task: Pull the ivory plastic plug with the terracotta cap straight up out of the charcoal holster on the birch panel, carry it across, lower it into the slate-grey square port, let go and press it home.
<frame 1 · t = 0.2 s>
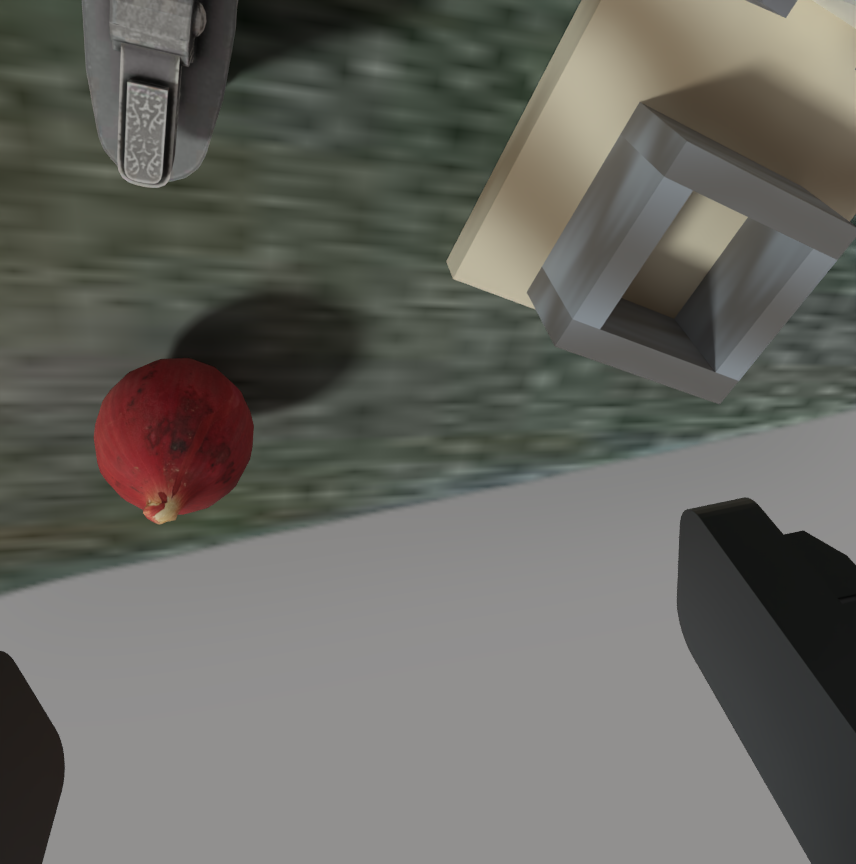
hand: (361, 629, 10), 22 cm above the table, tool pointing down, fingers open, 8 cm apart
panel: (732, 93, 29), on the table
onion: (184, 377, 33), on the table
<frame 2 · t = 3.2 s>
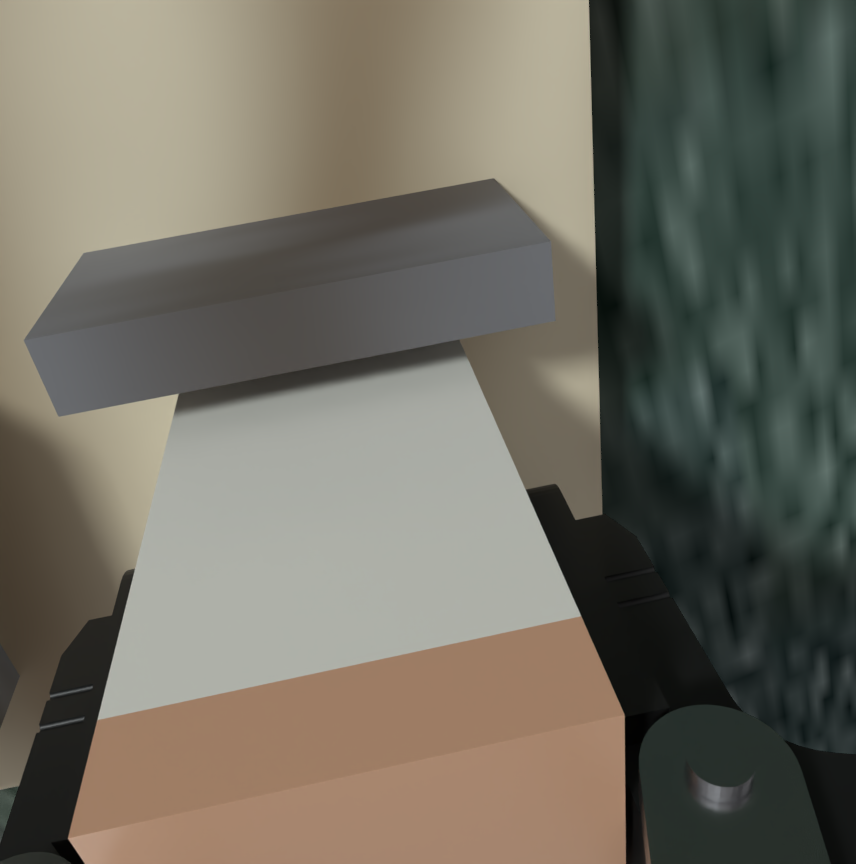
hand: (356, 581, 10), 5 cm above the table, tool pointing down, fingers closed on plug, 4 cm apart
panel: (40, 448, 14), on the table
plug: (342, 432, 13), point 2 cm above the table, touching gripper, panel
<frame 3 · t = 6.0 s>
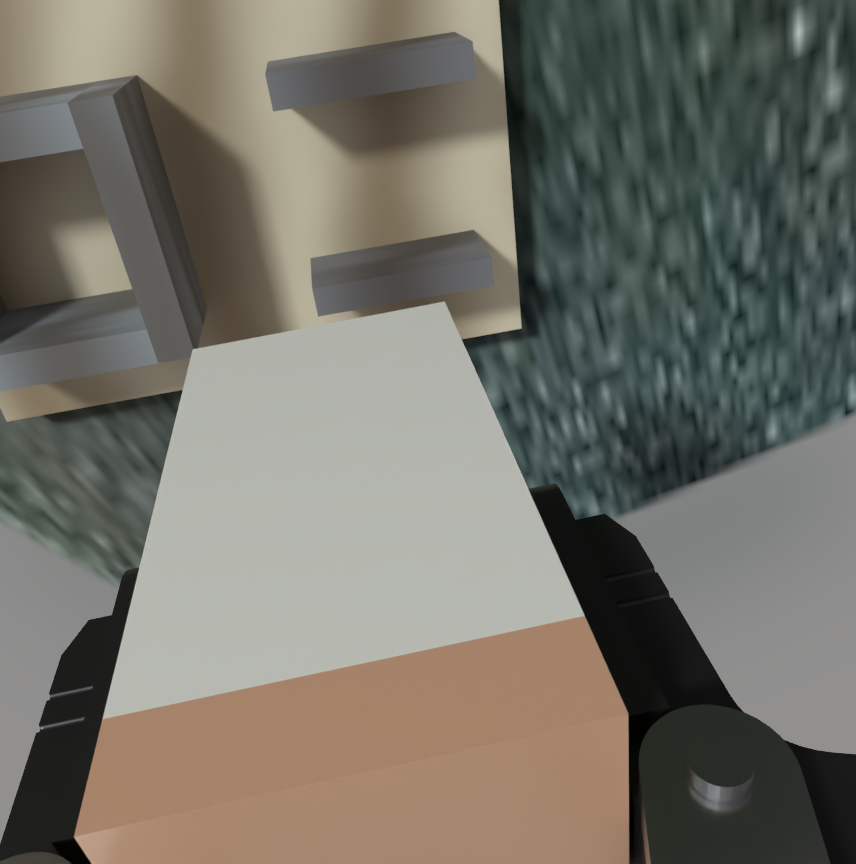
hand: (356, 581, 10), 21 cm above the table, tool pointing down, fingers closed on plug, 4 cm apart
panel: (223, 182, 28), on the table
plug: (344, 432, 13), point 18 cm above the table, touching gripper
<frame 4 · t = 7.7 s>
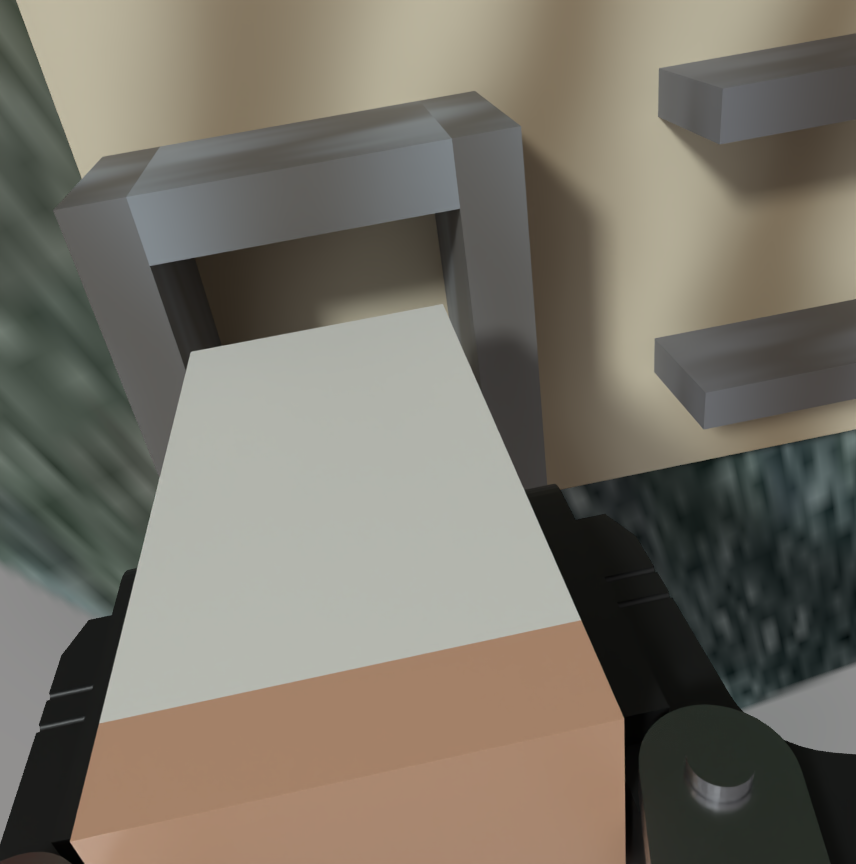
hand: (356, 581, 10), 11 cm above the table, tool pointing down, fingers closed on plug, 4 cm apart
panel: (539, 235, 20), on the table
plug: (342, 434, 13), point 8 cm above the table, touching gripper
when the fingers open (7 cm above the table, at t = 9.1 s): plug drops 2 cm, resting on panel.
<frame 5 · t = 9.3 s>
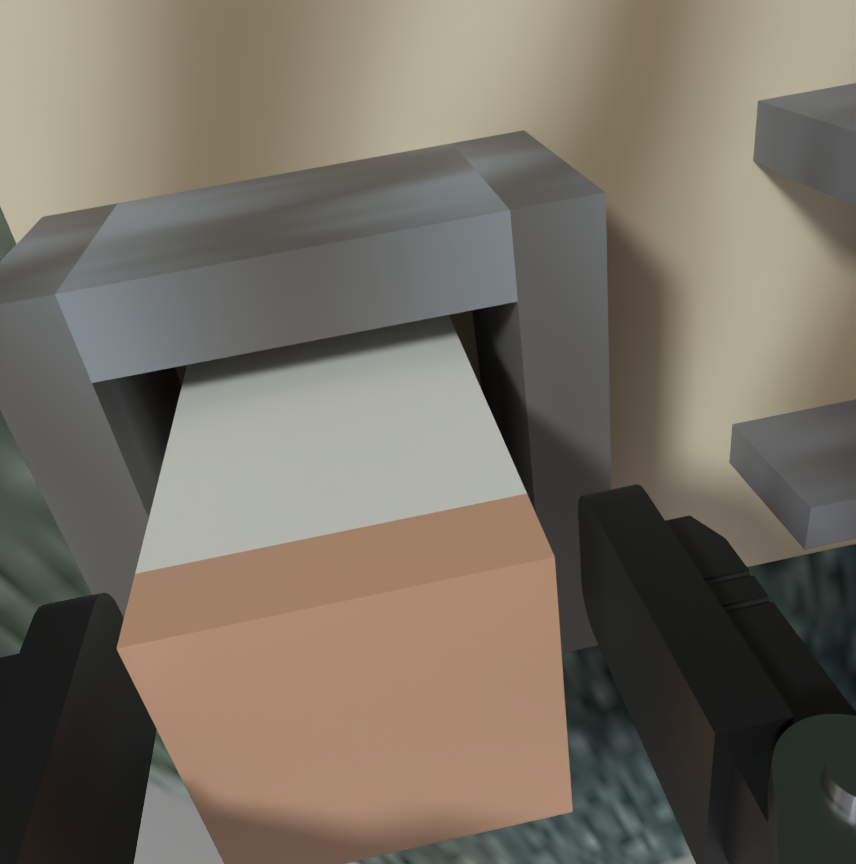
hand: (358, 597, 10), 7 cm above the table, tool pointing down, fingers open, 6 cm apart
panel: (592, 300, 16), on the table
plug: (337, 384, 15), point 1 cm above the table, touching panel
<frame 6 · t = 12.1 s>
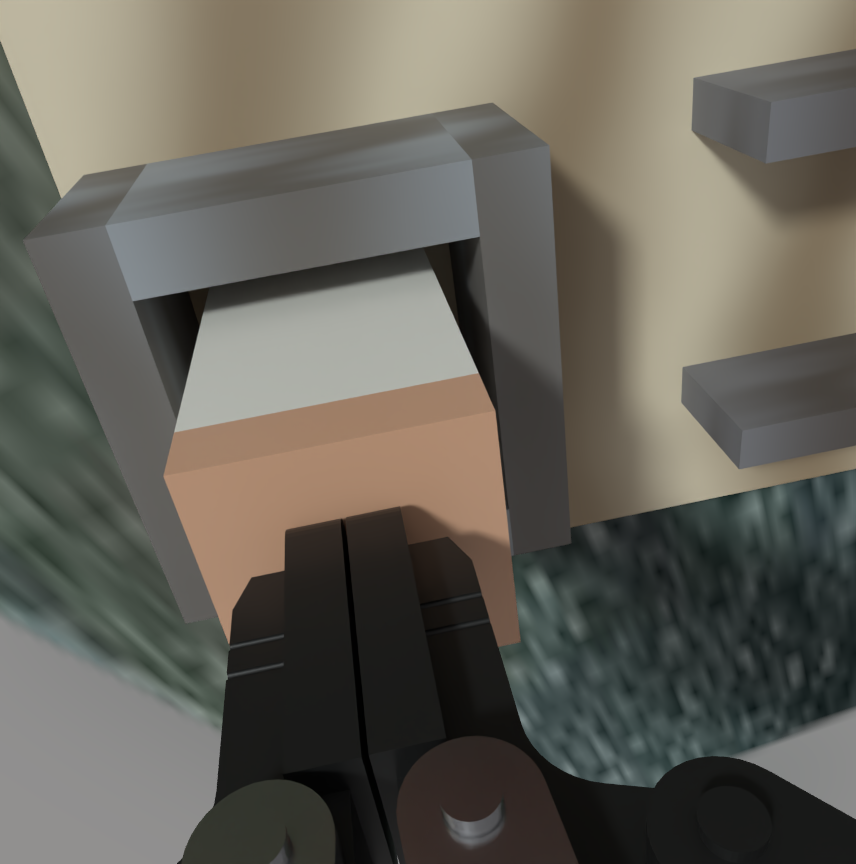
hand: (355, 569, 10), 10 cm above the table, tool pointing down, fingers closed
panel: (558, 257, 19), on the table
plug: (334, 325, 17), point 1 cm above the table, touching gripper, panel
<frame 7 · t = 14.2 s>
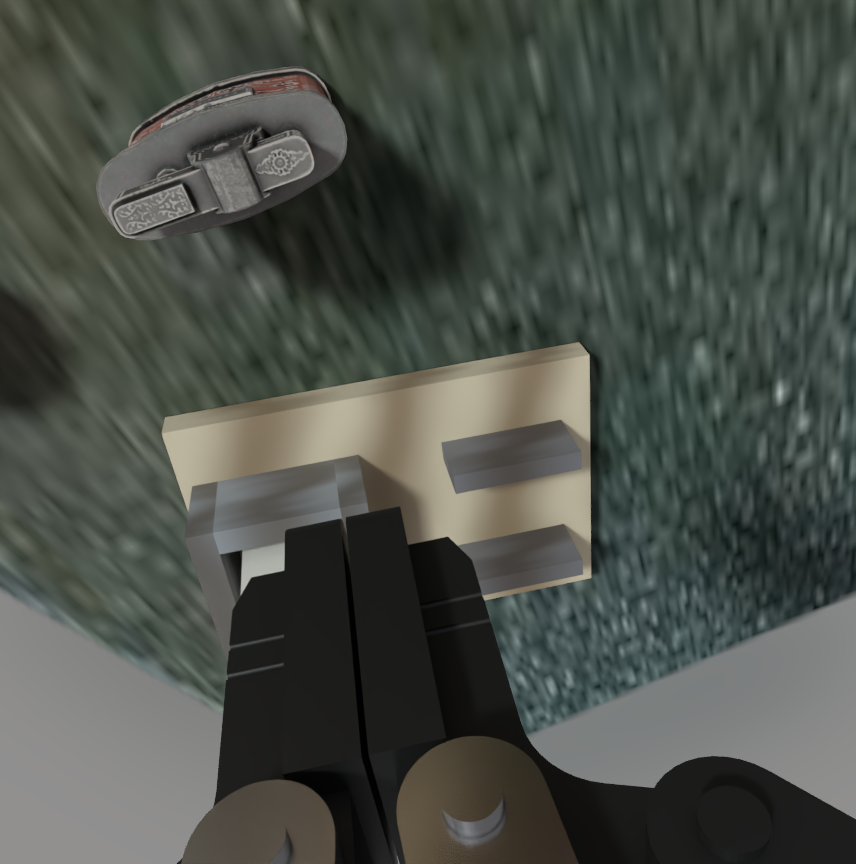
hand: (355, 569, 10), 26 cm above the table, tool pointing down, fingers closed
panel: (396, 497, 41), on the table
lighter: (232, 126, 31), on the table
plug: (293, 535, 40), point 1 cm above the table, touching panel
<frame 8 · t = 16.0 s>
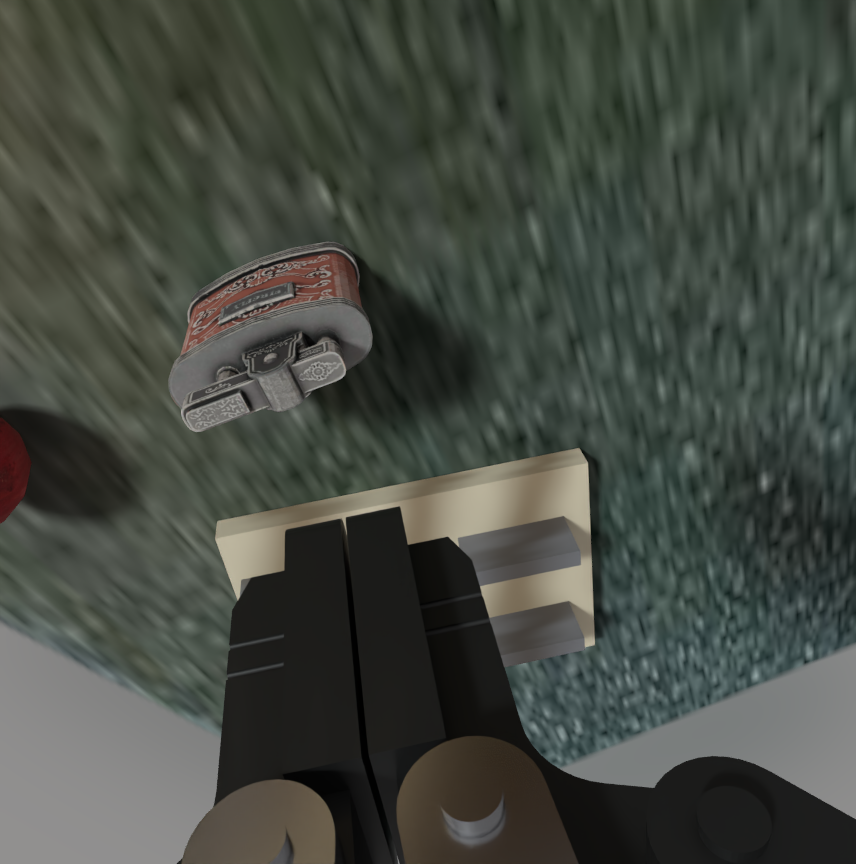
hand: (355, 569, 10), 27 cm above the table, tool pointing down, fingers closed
panel: (419, 579, 47), on the table
lighter: (274, 290, 37), on the table
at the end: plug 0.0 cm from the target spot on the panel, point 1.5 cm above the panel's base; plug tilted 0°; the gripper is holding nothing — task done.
